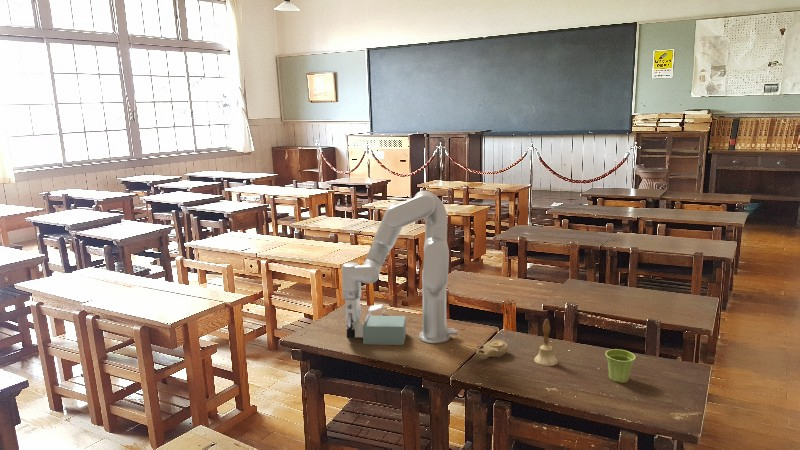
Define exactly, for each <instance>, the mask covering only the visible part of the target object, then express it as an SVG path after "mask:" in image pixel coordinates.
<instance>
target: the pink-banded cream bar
mask: <svg viewBox="0 0 800 450" xmlns="http://www.w3.org/2000/svg"><path fill="white" fill-rule="evenodd" d="M363 324H364V322H359V323H354V329H355V338H363ZM352 325H353V324H352Z"/></svg>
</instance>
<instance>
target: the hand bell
mask: <svg viewBox="0 0 800 450" xmlns="http://www.w3.org/2000/svg"><path fill="white" fill-rule="evenodd" d="M542 331H543V336H544V337H543V344H542V345H540V346H539V349H538V350H539V351H538V354H537V355H536V356H535V357H534V359H533V361H534V362H535V363H536V364H537V365H540V366H543V367H546V366H547V367H550V366H551V367H553V366H555V365H557V364H558V359H557V358H556V356H555V355H554V350H553V347H552V346H551V345H550V343H549V339H550V337H549V335H550V333H551V325H550V321H549V319H548V318H546V319H544V321H543V324H542Z"/></svg>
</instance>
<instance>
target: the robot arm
mask: <svg viewBox="0 0 800 450" xmlns="http://www.w3.org/2000/svg"><path fill="white" fill-rule="evenodd" d="M447 215H448V214H447V211H446V207H445V205H444V203H443V201H442V200H441V199H440V198H439V197H438V196H437V195H436V194H434V193H432V192H431V191H429V190H420V191H418V192H417V193H416V194H415V195H414V196H413V198H411V199H409V200H406V201H404V202H402V203H399V202H393V203H391V204H389V205H388V206H387V208H386V210H385V211H384V214H383V217H382V219H381V221H380V224H379V226H378V228H377V230H376V233H375V234H374V237H373V241H372V244H371V246H370V248H369V250H368V253H367V254H366V256H365V260H364V262H363V263H362V265H360V263H358V262H352V261H349V262H348V261H347V262H345V263H343V264H342V266H341V286H342V287H341V289H342V291H341V292H342V298H343V299H344V310H345V311H344V313H345V314H344V316H345V322H346V338H347V339H349V340H350V339H351V340H352V339H355V338H356V337H355V329H354V323H360V318H361V317H362V312H361V311H362V310H361V309H362V308H361V298H362V283H363V284H374V283H375V282H377V281H378V280H379V278H380V274H381V270H382V267H383V265H384V263H385V260H386V258H387V257H388V254H389V253H390V251H391V250H392V249H393V248H394V246H395V244H396V243H397V240H398V237H399V236H400V233H401V231H402V229H403V227H406V226H409V225H410V224H413V223H415V222H418V221H421V220H422V219H424V220H425V226H424V229H425V231H424V232H425V233H424V244H423V266H422V267H423V268H422V271H421V282H422V283H421V285H422V330H421V331H420V332H419V333H418V338H419V339H420V340H421V341H422V342H424V343H429V344H442V343H445V342H447V341H449V340H450V339H451V335H456V336H458V329H455V328H453V327H452V328H449V327H448V324H447V285H448V280H449V267H450V266H449V263H450V250H449V246H448V241H447V240H448V216H447ZM352 324H353V325H352Z"/></svg>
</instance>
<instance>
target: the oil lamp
mask: <svg viewBox="0 0 800 450" xmlns="http://www.w3.org/2000/svg"><path fill="white" fill-rule="evenodd" d="M481 347H482V348H476V350H475V355H476V356H477V357H478V358H479V359H488V358H489V357H491V358H499V357H500V356H501V357H502V356H503V355H504V354H506V353H507V352H508V350H509V345H508V344H507V342H505V341H504V340H501V339H490V340H489V341H487V342H486V343H485V344H482V346H481Z"/></svg>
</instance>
